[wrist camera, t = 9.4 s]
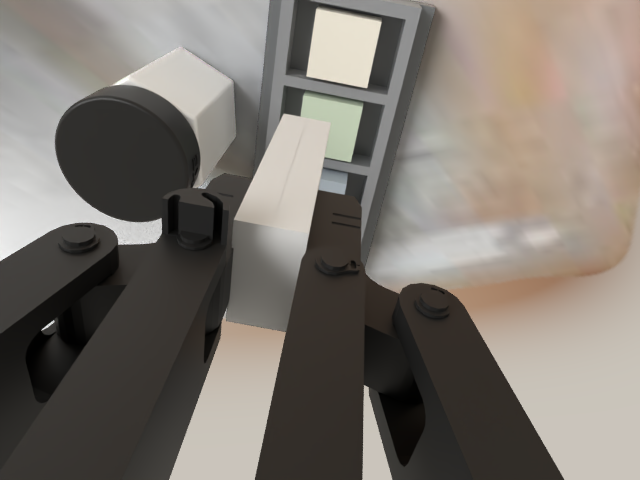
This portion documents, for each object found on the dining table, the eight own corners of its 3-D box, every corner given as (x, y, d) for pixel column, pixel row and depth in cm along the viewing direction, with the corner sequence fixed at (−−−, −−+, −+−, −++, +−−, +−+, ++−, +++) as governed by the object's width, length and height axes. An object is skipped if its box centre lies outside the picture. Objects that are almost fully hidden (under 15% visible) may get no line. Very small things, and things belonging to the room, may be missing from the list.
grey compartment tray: (248, 246, 45) (239, 268, 42) (276, -27, 33) (266, -23, 30) (362, 268, 45) (361, 292, 42) (433, 4, 33) (439, 11, 30)
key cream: (309, 69, 34) (306, 76, 32) (319, 5, 32) (316, 9, 30) (367, 81, 34) (367, 88, 32) (381, 17, 32) (381, 21, 30)
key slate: (287, 209, 39) (283, 221, 37) (294, 162, 37) (290, 173, 35) (338, 219, 39) (336, 231, 37) (347, 172, 37) (346, 184, 35)
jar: (174, 169, 41) (109, 243, 31) (114, 83, 38) (19, 136, 28) (260, 126, 39) (220, 193, 29) (204, 29, 35) (135, 66, 25)
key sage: (298, 141, 37) (295, 151, 35) (307, 87, 35) (303, 95, 33) (352, 152, 37) (350, 162, 35) (363, 98, 35) (362, 107, 33)
